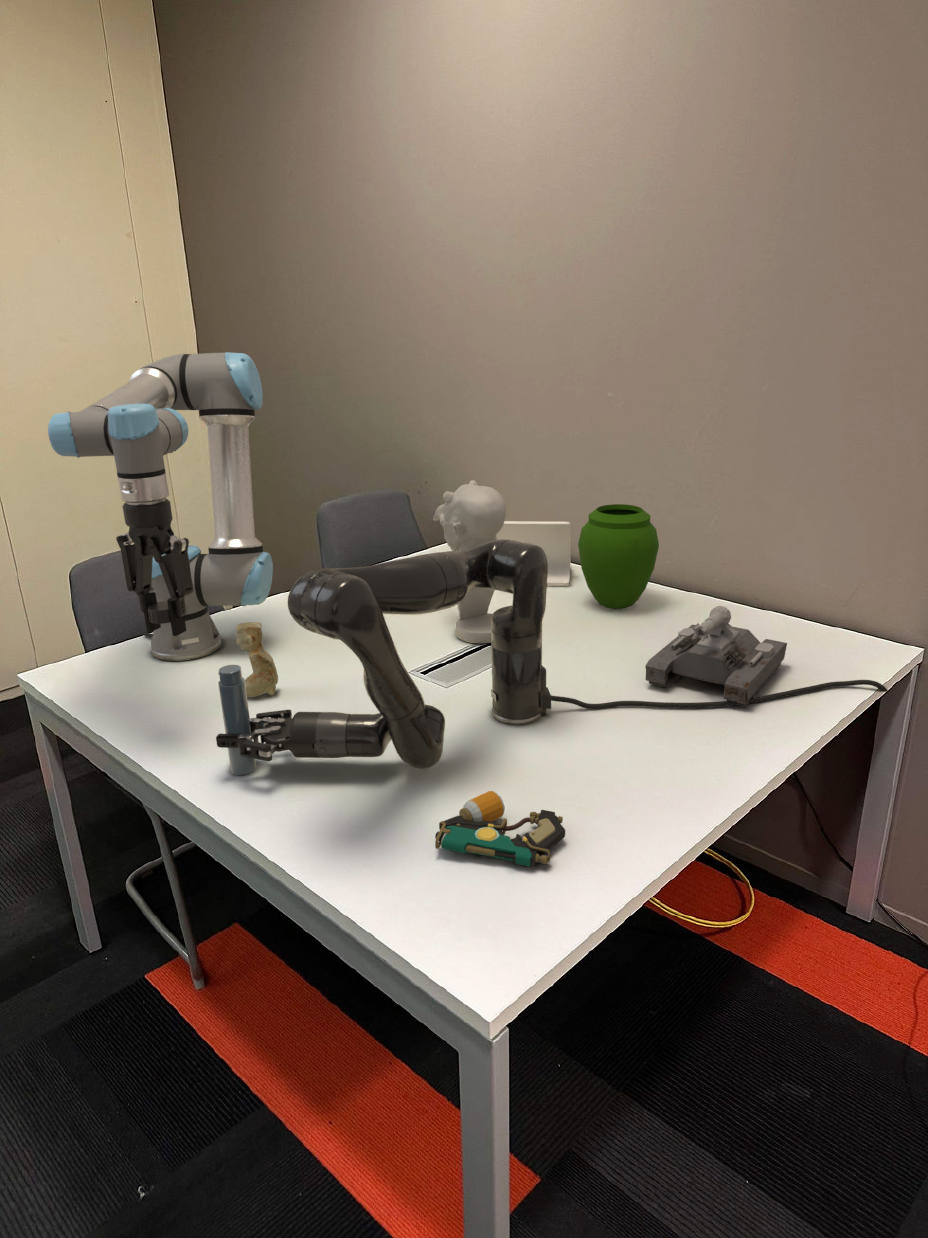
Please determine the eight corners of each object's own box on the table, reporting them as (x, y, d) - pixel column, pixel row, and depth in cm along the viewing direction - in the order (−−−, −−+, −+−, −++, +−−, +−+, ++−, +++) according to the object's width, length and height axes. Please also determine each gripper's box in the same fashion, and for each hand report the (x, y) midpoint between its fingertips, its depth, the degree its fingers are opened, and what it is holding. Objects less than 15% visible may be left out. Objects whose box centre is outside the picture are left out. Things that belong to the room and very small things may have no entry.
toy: (692, 645, 188) (696, 580, 183) (784, 664, 177) (792, 596, 172) (643, 687, 169) (647, 616, 164) (744, 712, 158) (751, 636, 153)
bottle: (227, 767, 145) (212, 668, 138) (250, 760, 147) (237, 661, 140) (236, 778, 141) (222, 676, 135) (260, 769, 144) (247, 669, 137)
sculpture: (244, 688, 174) (235, 619, 168) (280, 686, 174) (272, 617, 169) (241, 701, 168) (231, 630, 163) (278, 698, 169) (269, 628, 164)
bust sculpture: (477, 606, 216) (474, 468, 204) (528, 636, 196) (528, 485, 184) (420, 618, 209) (413, 476, 197) (467, 650, 189) (462, 494, 177)
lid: (172, 624, 146) (170, 610, 145) (144, 624, 147) (141, 610, 146) (184, 614, 151) (182, 601, 150) (156, 613, 151) (154, 601, 150)
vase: (599, 587, 227) (601, 497, 218) (668, 600, 216) (673, 505, 208) (562, 608, 212) (564, 513, 204) (634, 623, 202) (639, 523, 193)
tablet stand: (569, 585, 229) (570, 524, 223) (476, 584, 232) (475, 523, 226) (570, 566, 246) (571, 508, 240) (484, 564, 249) (483, 507, 243)
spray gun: (576, 835, 125) (528, 897, 113) (478, 798, 133) (424, 852, 121) (578, 811, 123) (529, 871, 111) (479, 775, 131) (423, 828, 119)
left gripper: (87, 502, 141) (111, 633, 150) (174, 508, 135) (194, 645, 143) (120, 492, 148) (141, 618, 156) (204, 498, 141) (222, 629, 150)
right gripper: (331, 695, 146) (233, 694, 147) (310, 735, 133) (203, 734, 134) (334, 734, 148) (238, 733, 150) (315, 777, 135) (209, 775, 137)
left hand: (166, 631), depth 149 cm, fingers closed on lid, 5 cm apart
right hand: (222, 733), depth 142 cm, fingers closed on bottle, 4 cm apart
